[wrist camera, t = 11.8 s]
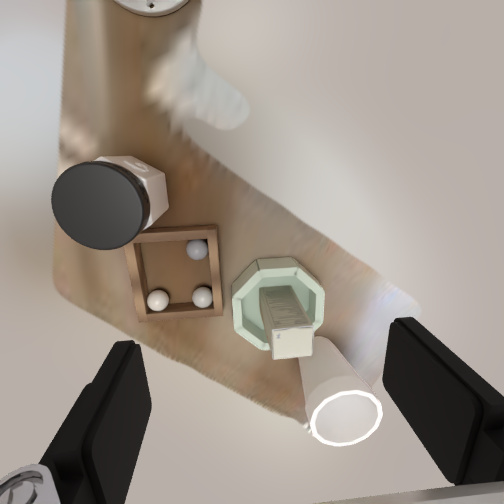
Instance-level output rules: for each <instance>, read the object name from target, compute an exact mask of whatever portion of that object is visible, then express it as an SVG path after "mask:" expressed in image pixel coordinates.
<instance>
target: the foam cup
mask: <svg viewBox="0 0 504 504" xmlns="http://www.w3.org/2000/svg"><path fill="white" fill-rule="evenodd" d="M298 360H299V366H300V372H301V378H302V384H303V390H304V396H305V402H306V406H305V410H306V413H307V417H308V420H309V423H310V427H311V430H312V433H313V435H314V436H315V437H316V438H317V439H318V440H320V441H321V442H322V443H324V444H328V445H332V446H345V445H353V444H355V443H357V442H359V441H361V440H363V439H366V438H367V437H368V436H369V435H370V434H371V433H372V432H374V431H375V430H376V429H377V428H378V426H379V423H380V421H381V418H382V416H383V413H382V407H381V402H380V401H379V399H378V398H377V396H376V394H375V393H374V391H373V390H372V388H371V387H370V386H369V385H368V384H367V383H366V382H365V381H364V380H363V379H362V378H361V377H360V376H359V375H358V373H357V372H356V371H355V370H354V369H353V367H352V366H351V365H350V364H349V362H348V361H347V360H346V359H345V358H344V356H343V355H342V354H341V353H340V351H339V350H338V349H337V348H336V347H335V345H334V344H333V343H332V342H331V341H330V340H329V339H328V338H325V337H322V336H317V337H314V340H313V352H312V356H304V357H298Z"/></svg>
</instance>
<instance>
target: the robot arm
mask: <svg viewBox="0 0 504 504" xmlns="http://www.w3.org/2000/svg"><path fill="white" fill-rule="evenodd" d="M114 1H115V2H116V3H118V4H119V5H120V6H122V7H123V8H125V9H127V10H129V11H131V12H133V13H136V14H140V15H143V16H162V15H167V14H170V13H172V12H174V11H176V10H178V9H179V8H181V7H182V6H183V5H185V4H186V3H187V2H188V1H189V0H114ZM151 5H154V7H153V8H152V9H150V6H151ZM382 380H383V385H384V387H385V389H386V391H387V392H388V393H389V395H390V397H391V398H392V400H393V401H394V402H395V404H396V405H397V407H398V408H399V410H400V411H401V413H402V414H403V416H404V417H405V418H406V420H407V422H408V423H409V425H410V426H411V428H412V429H413V431H414V432H415V434H416V435H417V436H418V438H419V439H420V441H421V442H422V444H423V445H424V447H425V448H426V450H427V451H428V453H429V454H430V455H431V457H432V459H433V460H434V462H435V463H436V465H437V466H438V468H439V469H440V470H441V472H442V473H443V475H444V476H445V478H446V479H447V480H448V481H449V482H450V483H454V484H455V486H452V487H444V488H435V489H427V490H419V491H411V492H403V493H395V494H387V495H379V496H370V497H363V498H355V499H347V500H339V501H331V502H323V503H315V504H504V397H503V396H502V395H501V394H500V393H499V392H498V391H497V390H495V389H494V388H493V387H492V386H491V385H490V384H489V383H488V382H486V381H485V380H484V379H483V378H482V377H481V376H480V375H478V374H477V373H476V372H475V371H474V370H473V369H472V368H470V367H469V366H468V365H467V364H466V363H465V362H464V361H462V360H461V359H460V358H459V357H458V356H457V355H456V354H454V353H453V352H452V351H451V350H450V349H449V348H448V347H446V346H445V345H444V344H443V343H442V342H441V341H440V340H438V339H437V338H436V337H435V336H434V335H433V334H432V333H430V332H429V331H428V330H427V329H426V328H425V327H424V326H422V325H421V324H420V323H419V322H418V321H417V320H416V319H414V318H413V317H404V318H396V319H395V320H394V322H392V323H391V324H390V329H389V336H388V343H387V350H386V357H385V364H384V371H383V378H382ZM151 404H152V403H151V397H150V392H149V387H148V382H147V377H146V372H145V367H144V362H143V358H142V352H141V347H140V345H139V344H135V342H134V341H133V340H130V341H117V342H116V343H115V344H114V345H113V347H112V349H111V350H110V352H109V354H108V356H107V357H106V359H105V361H104V362H103V364H102V366H101V368H100V369H99V371H98V373H97V375H96V376H95V378H94V379H93V381H92V383H89V384H87V385H86V386H85V388H84V389H83V390H82V392H81V394H80V395H79V397H78V399H77V400H76V402H75V404H74V406H73V407H72V409H71V410H70V412H69V414H68V415H67V417H66V419H65V420H64V422H63V424H62V425H61V427H60V429H59V430H58V432H57V434H56V435H55V437H54V439H53V440H52V442H51V444H50V445H49V447H48V449H47V450H46V452H45V453H44V455H43V457H42V459H41V460H40V462H39V463H38V464H32V465H28V466H25V467H21V468H19V469H17V470H15V471H13V472H11V473H9V474H8V475H6V476H5V477H4V478H2V479H1V480H0V504H124V503H125V500H126V496H127V493H128V489H129V486H130V482H131V479H132V476H133V472H134V469H135V465H136V461H137V458H138V455H139V451H140V448H141V444H142V441H143V437H144V434H145V431H146V427H147V423H148V420H149V417H150V413H151V406H152V405H151Z"/></svg>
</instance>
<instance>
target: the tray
mask: <svg viewBox="0 0 504 504" xmlns="http://www.w3.org/2000/svg"><path fill="white" fill-rule="evenodd" d="M195 239H208V248H209V259H210V270H211V281H212V291H213V301H212V303H211V304H210V305H209V306H208V307H205V308H200V307H198V306H196V305H195V304H194V302H191V303H178V304H168V305H167V307H166V308H165V309H163V310H161V311H154V310H152V309H150V308H149V306H148V304H147V298H148V296H149V294H148V288H147V283H146V277H145V271H144V266H143V260H142V254H141V249H140V243H145V242H162V241H178V240H195ZM124 249H125V254H126V259H127V264H128V269H129V274H130V280H131V285H132V290H133V295H134V300H135V305H136V310H137V315H138V320H139V322H150V321H163V320H176V319H188V318H201V317H213V316H223V298H222V286H221V273H220V261H219V248H218V236H217V225H205V226H188V227H170V228H152V229H144V230H143V231H142V232H141V233H140V234H139V235H138V236H136V237H135V238H134V239H133V240H132V241H131V242H130V243H128V244H126V245H125V246H124Z"/></svg>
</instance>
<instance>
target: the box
mask: <svg viewBox="0 0 504 504" xmlns="http://www.w3.org/2000/svg"><path fill="white" fill-rule="evenodd" d="M259 307H260V314H261V318H262V321H263V325H264V329H265V332H266V336H267V340H268V344H269V347H270V351H271V355H272V358H273V359H286V358H296V357H304V356H312V352H313V340H314V326H313V324H312V322H311V321H310V319H309V317H308V315H307V313H306V312H305V310H304V308H303V306H302V304H301V303H300V301H299V299H298V297H297V295H296V293H295V292H294V290H293V288H292V286H291V285H285V286H272V287H262V288H259Z"/></svg>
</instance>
